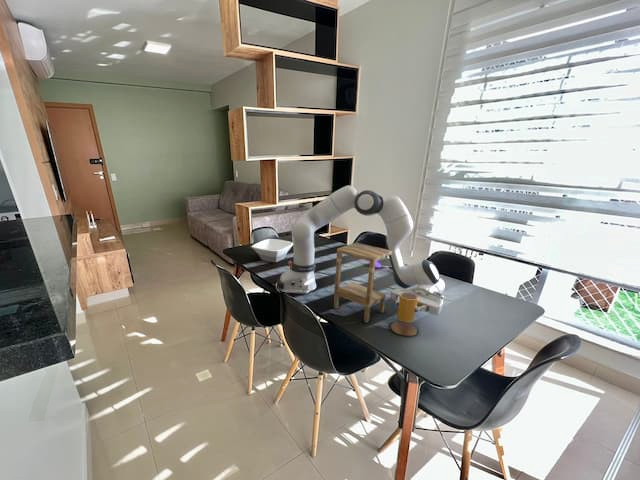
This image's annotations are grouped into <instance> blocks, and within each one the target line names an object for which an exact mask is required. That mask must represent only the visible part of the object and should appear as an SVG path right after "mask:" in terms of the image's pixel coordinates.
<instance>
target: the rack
mask: <svg viewBox="0 0 640 480" xmlns="http://www.w3.org/2000/svg"><path fill="white" fill-rule="evenodd" d="M391 254H392V251H390V250H387V248H381V247H377V246H372V245H368V244H364V243H361V242H352V243H350V244H348V245H344V246H342V247H338V248H337V249H336V263H335V279H334V295H333V309H335V310H337V309H339V303H340V297H342V298H343V299H345V300H348V301H351V302H353V303H356V304H357V305H360V306H363V307H364V313H363V322H364V323H366V324H367V323H369V321H370V315H371V307H372V306H373V305H374V306H375V304H377V303H379V306H378V307H379V308H378V312H379V313H381V314H383V313H384V312H385V306H386V297H387V294H386V293H384V292H381V291H378V290H375V289H373V287H374V279H375V271H376V270H375V269H376V267H375V262H376V261H377V262H378V261H380V260H382V259H384V258H386V257H389V255H391ZM343 255H346V256H350V257H354V258H357V259H361V260H364V261H367V262H369V261H370V263H369V267H368V277H367V284H366V285H367V287H366V286H364V285H361V284H359V283H356V282H351V283H348V284H345V285H344V286H341V276H342V275H341V274H342V260H343Z"/></svg>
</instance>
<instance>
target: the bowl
mask: <svg viewBox="0 0 640 480" xmlns="http://www.w3.org/2000/svg"><path fill="white" fill-rule="evenodd" d="M292 247H293V241H288V240H284V239H278V238H277V239H276V238H266V239H263V240H261V241H258V242H255V243H254V244H252V245H251V246H250V248H251V249H252V250H253V251H255V253H256V254H258V256H259V258H260V260H262V261H265V262H270V263H279V262H280V261H282V260H284V259H285V258H286V256H287V254H288V252H289V251H290V250H291V248H292Z"/></svg>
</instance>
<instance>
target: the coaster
mask: <svg viewBox="0 0 640 480" xmlns="http://www.w3.org/2000/svg"><path fill="white" fill-rule="evenodd" d="M390 330H391V331H392V332H393V333H395V334H397V335H399V336H403V337H413V336H416V335H417V333H418V329H417V328H416V327H415V326H414V325H412V324H410V323H409V322H404V321H396V322H392V323H391V325H390Z"/></svg>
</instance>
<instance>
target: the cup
mask: <svg viewBox="0 0 640 480" xmlns="http://www.w3.org/2000/svg"><path fill="white" fill-rule="evenodd" d="M417 303H418V296H417V295H415V294H413V293H408V292H405V293H401V294H400V300H399V305H398V307H397V314H396V318H397V319H398V320H399V321H400V322H405V323H413V322H414V321H415V320H416V314H417V312H415V308H416V307H417Z"/></svg>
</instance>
